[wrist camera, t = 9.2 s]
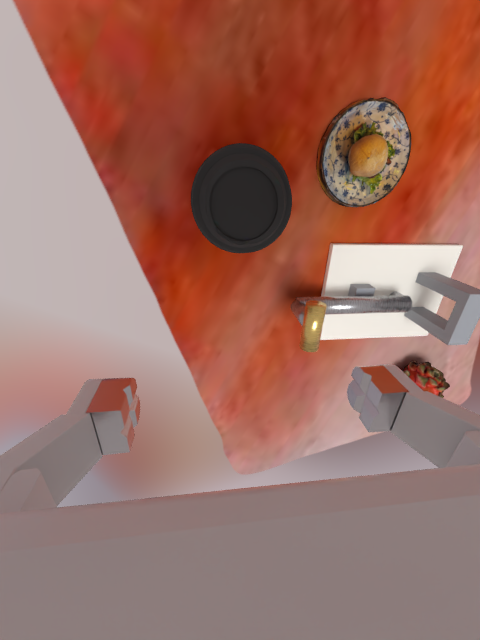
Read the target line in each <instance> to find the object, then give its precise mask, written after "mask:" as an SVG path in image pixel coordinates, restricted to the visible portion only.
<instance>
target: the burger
mask: <svg viewBox="0 0 480 640" xmlns="http://www.w3.org/2000/svg"><path fill="white" fill-rule="evenodd" d="M410 151H411V133H410V130H409V127H408V125H407V122H406V119H405V116H404V113H403V112H401V110H400V109H399V107H398V105H397V104H396V103H395V102H394V101H392V100H390V99H387V98H385V97H384V98H380V99H373V98H370V99H368V100H360V101H357V102H355V103H353V104H351V105H350V106H348V107H346V108H345V109H343V110H342V111H341V112H340V113H339V114H338V115H337V116H336V117H335V118H334V119H333V121H332V123H331V124H330V125H329V127H328V130H327V131H326V133H325V135H324V137H323V138H322V139H321V142H320V146H319V148H318V160H317V174H318V179H319V182H320V184H321V187H322V189H323V190H324V192H325V193H326V195H327V196H328V197H329V198H330V199H331V200H332V201H334V202H336V203H337V204H339V205H343V206H346V207H363V206H367V205H370V204H373V203H376V202H378V201H379V200H381V199H382V198H384V197H385V196H386V195H388V194H389V193H390V192H391V191H392V190H393V188H394V187H395V186H396V185H397V184H398V182H399V180H400V178H401V177H402V175H403V173H404V171H405V169H406V166H407V164H408V160H409V156H410Z"/></svg>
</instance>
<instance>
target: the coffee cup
mask: <svg viewBox="0 0 480 640" xmlns="http://www.w3.org/2000/svg"><path fill="white" fill-rule="evenodd" d="M191 206H192V212H193V216H194V219H195V221H196V224H197V226H198V228H199V229H200V231H201V232H202V234H203V235H204V236H205V237H206V238H207V239H208V240H209V241H210V242H211V243H212V244H214V245H215V246H217V247H218V248H220V249H223V250H225V251H228V252H233V253H249V252H255V251H258V250H261V249H263V248H265V247H267V246H268V245H270V244H271V243H273V242H274V241H275V240H276V239H277V238H278V237H279V236H280V235H281V233H282V232H283V230H284V229H285V227H286V225H287V223H288V220H289V217H290V213H291V207H292V195H291V189H290V185H289V181H288V178H287V175H286V173H285V171H284V169H283V167H282V166H281V164H280V163H279V162H278V161H277V159H276V158H275V157H274V156H273V155H271V154H270V153H269V152H267V151H266V150H264V149H262V148H260V147H258V146H255V145H251V144H242V143H239V144H232V145H228V146H225V147H223V148H221V149H219V150H217V151H215V152H214V153H213V154H211V155H210V156H209V157H208V158H207V159H206V160H205V161H204V163H203V164H202V165H201V167H200V168H199V170H198V172H197V174H196V176H195V179H194V182H193V186H192V191H191Z"/></svg>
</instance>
